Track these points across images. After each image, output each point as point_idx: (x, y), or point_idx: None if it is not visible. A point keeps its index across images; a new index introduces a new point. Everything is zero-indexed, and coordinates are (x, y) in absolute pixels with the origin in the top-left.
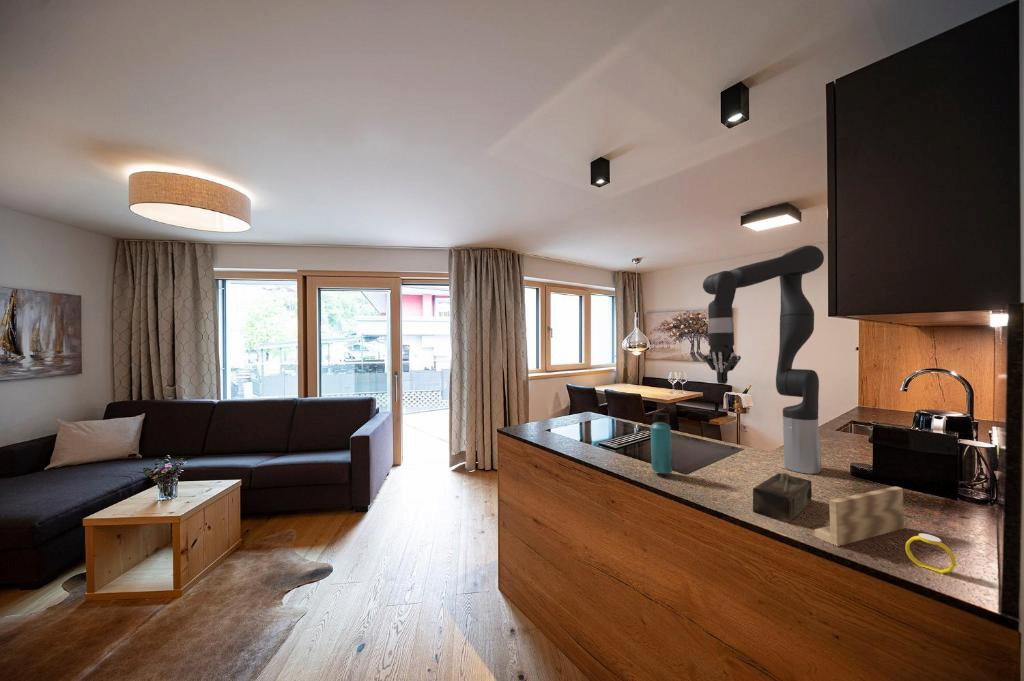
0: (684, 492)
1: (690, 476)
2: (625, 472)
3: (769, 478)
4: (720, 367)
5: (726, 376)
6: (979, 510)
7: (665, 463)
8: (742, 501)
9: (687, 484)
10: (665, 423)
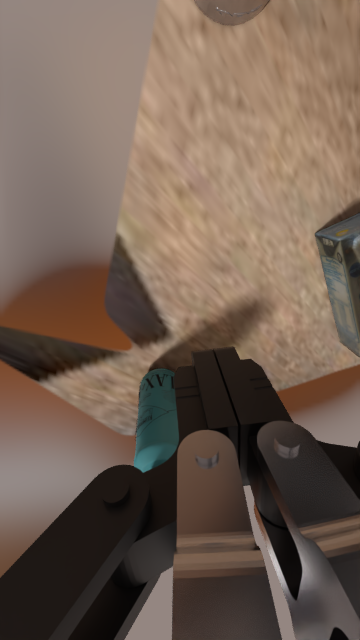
0: None
1: (183, 335)
2: (133, 427)
3: (351, 293)
4: (285, 565)
5: (277, 407)
6: None
7: None
8: (308, 328)
9: None
10: (161, 460)
